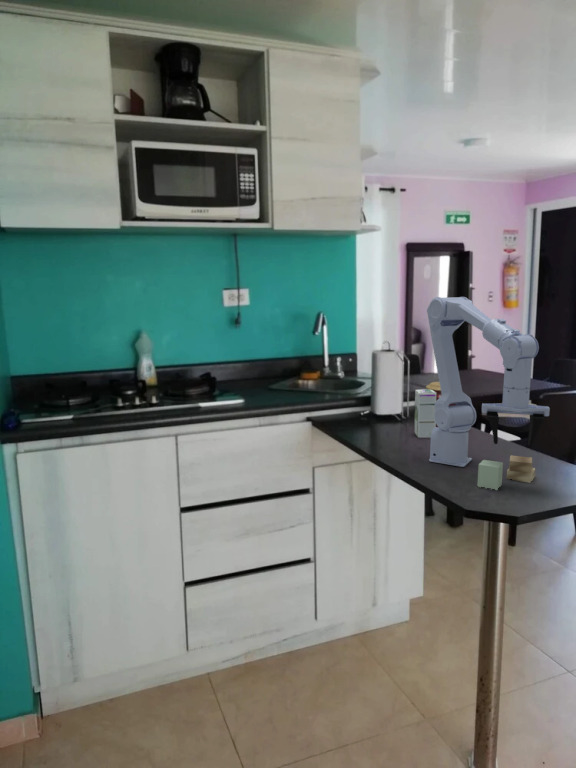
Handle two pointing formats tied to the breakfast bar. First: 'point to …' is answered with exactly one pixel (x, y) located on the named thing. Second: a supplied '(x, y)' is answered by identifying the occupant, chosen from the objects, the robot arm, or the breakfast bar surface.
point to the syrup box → (424, 412)
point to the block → (490, 474)
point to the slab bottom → (521, 476)
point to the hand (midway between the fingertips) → (512, 443)
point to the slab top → (520, 464)
